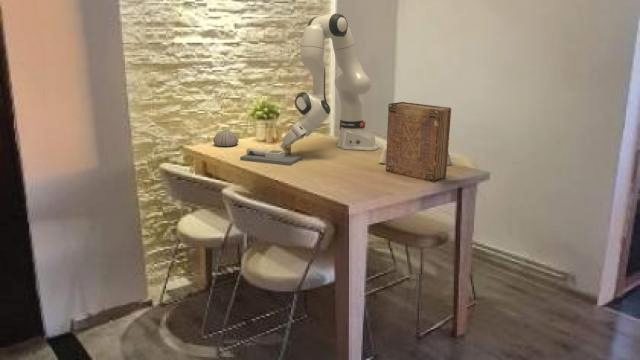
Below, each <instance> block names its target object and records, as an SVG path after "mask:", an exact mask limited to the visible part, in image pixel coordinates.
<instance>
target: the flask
mask: <svg viewBox="0 0 640 360" xmlns="http://www.w3.org/2000/svg"><path fill="white" fill-rule="evenodd" d="M452 164H453V162H452V159H451V156H450V153H449V151H448V158H447V166H452Z"/></svg>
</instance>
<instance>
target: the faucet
mask: <svg viewBox="0 0 640 360" xmlns="http://www.w3.org/2000/svg"><path fill="white" fill-rule="evenodd" d="M386 154H387V145H385V146H384V147H383V148H382V150H381V154H380V157H379V161H378V162H379V163H381V164H385V165H386Z"/></svg>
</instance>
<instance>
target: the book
mask: <svg viewBox="0 0 640 360" xmlns="http://www.w3.org/2000/svg"><path fill="white" fill-rule="evenodd" d="M387 112H388V113H387V133H386V135H387V136H386V146H387V154H386V164H385V172H388V173H393V174H396V175H400V176H401V175H402V176H406V177H409V178H413V179H417V180H418V179H419V180H422V181H427V182H429V183H430V182H432V183H435V182H436V181H437V180H440V179H447V170H448V165H447V158H448V152H449V145H450V143H449V141H450V129H451V118H452V116H451V115H452V108H451V107H446V106H440V105H431V104H430V105H429V104H422V103H421V104H420V103H414V102H404V101H399V102H394V103H388V110H387Z"/></svg>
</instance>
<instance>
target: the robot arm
mask: <svg viewBox="0 0 640 360" xmlns="http://www.w3.org/2000/svg"><path fill="white" fill-rule="evenodd" d="M326 39H330V40H331V44H332V49H333V52H334V56H335V62H336V65H337V66H338V68H339V69H340V70H341V72H339V73H338V74H336V76H335V78H334V86H335V88H336V89H337V92H338V96H339V102H340V120H339V136H338V137H339V138H338V142H337V144H336V145H337V147H339V148H340V149H343V150H351V151H352V150H355V151H369V152H370V151H376V150H378V149H379V148H380V144H378V143H376V137H375V135H374V134H373V132H371V131H370V130H369V129H367V128H366V123H367V122H366V121H364V120H363V105H362V103H361V101H360V98H359V95H360V96H361V95H364V94H367V93H369V91H370V89H371V87H372V81H371V78H370V77H369V76H368V75H367V74H366V73H365V71H364V69H363V67H362V66H363V65H362V64H361V62H360V59H359V57H358V53H357V48H356V45H355V40H354V39H355V38H354V37H353V34H352V31H351V29H350V26H349V23H348V21H347V18H346V17H345V15H343V14H340V13H332V14H329V13H327V14H324V15H319V16H314V17H312V18H311V19H310V20H309V21H308V24H307V26H306V27H305V29H304V31H303V35H302V40H301V44H300V45H301V46H300V53H299V55H300V62H301V63H302V65H303V66H304V67H305V68H306V69H307V70H308V71H309V72H310V74H311V76H312V93H309V92H307V91H306V92H305V91H302V92H299V93H298V94H296V97H295V99H294V105H295V108H296V109H297V111H298V112H299V113H300V114H302V116H301V117H300V118H299V119H298V120H297V121H296V122H295V123H293V125H292V126H290V129H289V130H288V132H287V133H286V134H285V135H284V136H283V137H282V140H281V141H282V143H281V145H280V147H279V148H281V149H282V150H283V148H285V147H286V145H289V144H291V146H292V145H293V144H294V143H295V142H298V141H300V140H303V139H304V137H307V138H308V137H309V136H311V134H313V133H314V132H315V130H317V127H319V126H321V125H322V124H323V123H324V122H325V120H326V119H327V118H328V117H329V115H330V113H331V107H330V105H329V103H328V102H327V97H326V67H325V62H324V50H325V40H326Z"/></svg>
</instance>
